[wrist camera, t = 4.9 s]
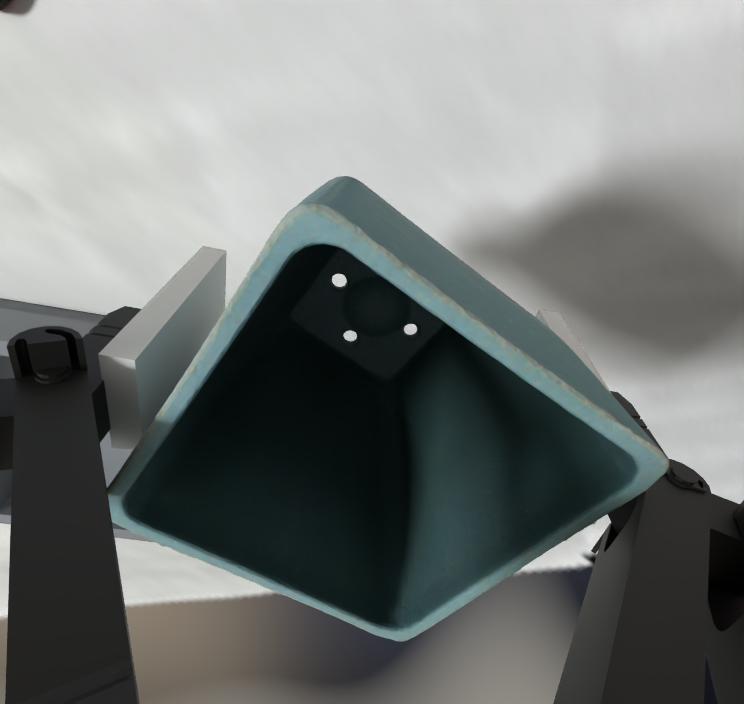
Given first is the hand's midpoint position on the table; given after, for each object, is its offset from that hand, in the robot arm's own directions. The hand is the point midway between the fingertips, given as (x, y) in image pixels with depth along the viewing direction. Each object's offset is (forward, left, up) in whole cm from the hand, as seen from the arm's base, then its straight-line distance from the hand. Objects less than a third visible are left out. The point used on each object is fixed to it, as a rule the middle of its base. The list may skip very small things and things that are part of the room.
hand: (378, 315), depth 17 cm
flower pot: (0, 0, -1) cm, 1 cm away
